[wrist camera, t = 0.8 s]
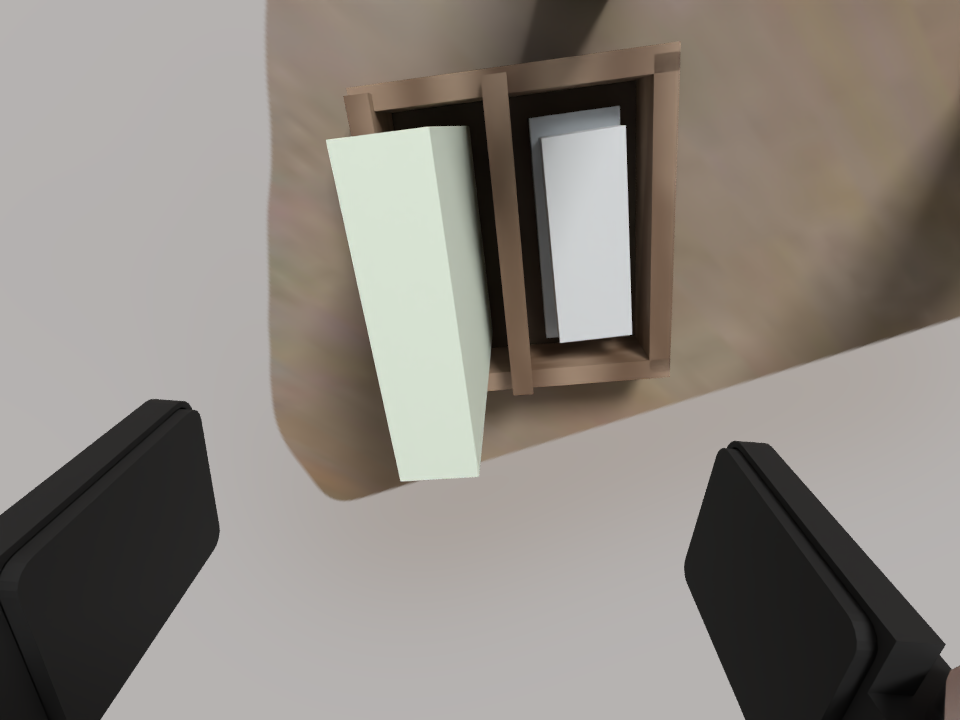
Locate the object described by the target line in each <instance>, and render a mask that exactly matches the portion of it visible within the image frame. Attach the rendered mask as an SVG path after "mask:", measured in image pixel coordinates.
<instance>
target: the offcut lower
mask: <svg viewBox="0 0 960 720" xmlns="http://www.w3.org/2000/svg"><path fill="white" fill-rule="evenodd" d="M614 125H620V106H614V107H607V108H599V109H592V110H585V111H578V112H571V113H563V114H556V115H549V116H542V117H535V118H529V119H528V126H529V138H530V151H531V163H532V175H533V188H534V200H535V212H536V225H537V237H538V249H539V262H540V274H541V287H542V299H543V311H544V324H545V331H546V337H547V338H554V337H559V335H558V331H557V324H556V314H555V303H554V292H553V282H552V271H551V260H550V250H549V239H548V228H547V218H546V207H545V196H544V186H543V175H542V164H541V154H540V143H539V137H545V136H551V135H557V134H564V133H570V132H576V131H583V130H589V129H595V128H602V127H608V126H614Z"/></svg>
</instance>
